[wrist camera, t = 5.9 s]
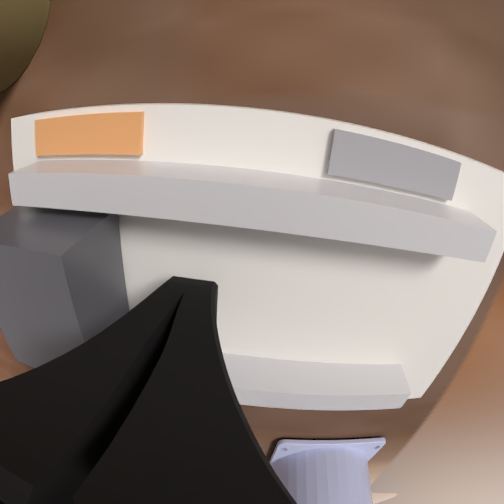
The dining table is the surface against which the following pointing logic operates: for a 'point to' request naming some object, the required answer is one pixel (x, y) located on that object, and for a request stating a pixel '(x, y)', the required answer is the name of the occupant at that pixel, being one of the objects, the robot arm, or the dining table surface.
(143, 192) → the switch board
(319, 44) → the dining table surface
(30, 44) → the green chess rook
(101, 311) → the switch tab
